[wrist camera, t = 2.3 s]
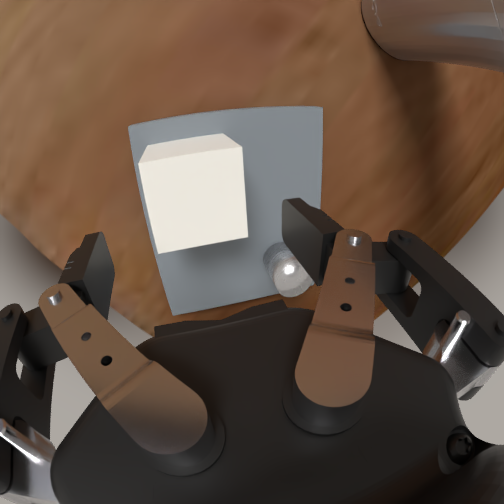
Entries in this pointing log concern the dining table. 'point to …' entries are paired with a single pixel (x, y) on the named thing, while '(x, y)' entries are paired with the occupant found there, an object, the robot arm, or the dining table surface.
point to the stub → (286, 270)
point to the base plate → (256, 193)
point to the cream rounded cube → (194, 191)
